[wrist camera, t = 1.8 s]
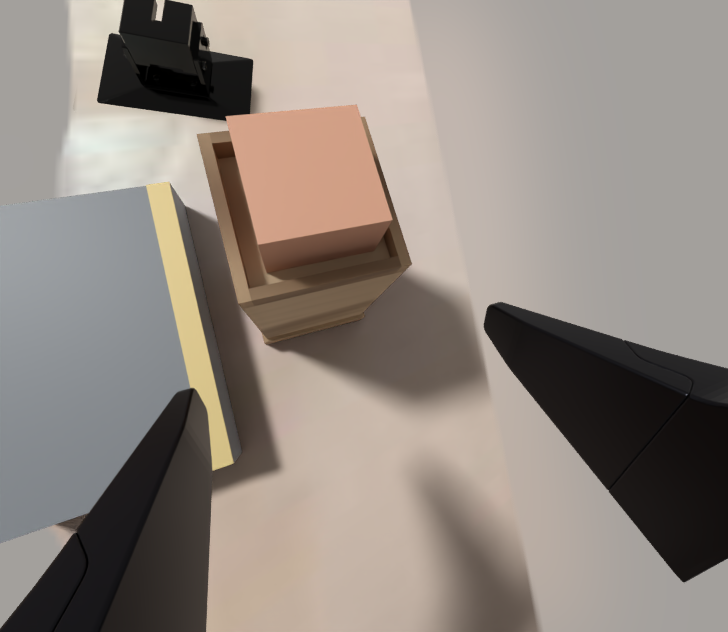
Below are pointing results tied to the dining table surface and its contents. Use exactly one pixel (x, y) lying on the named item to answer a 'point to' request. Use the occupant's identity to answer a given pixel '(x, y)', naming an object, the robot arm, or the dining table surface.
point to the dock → (97, 346)
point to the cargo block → (309, 184)
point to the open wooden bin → (299, 284)
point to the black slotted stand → (172, 65)
